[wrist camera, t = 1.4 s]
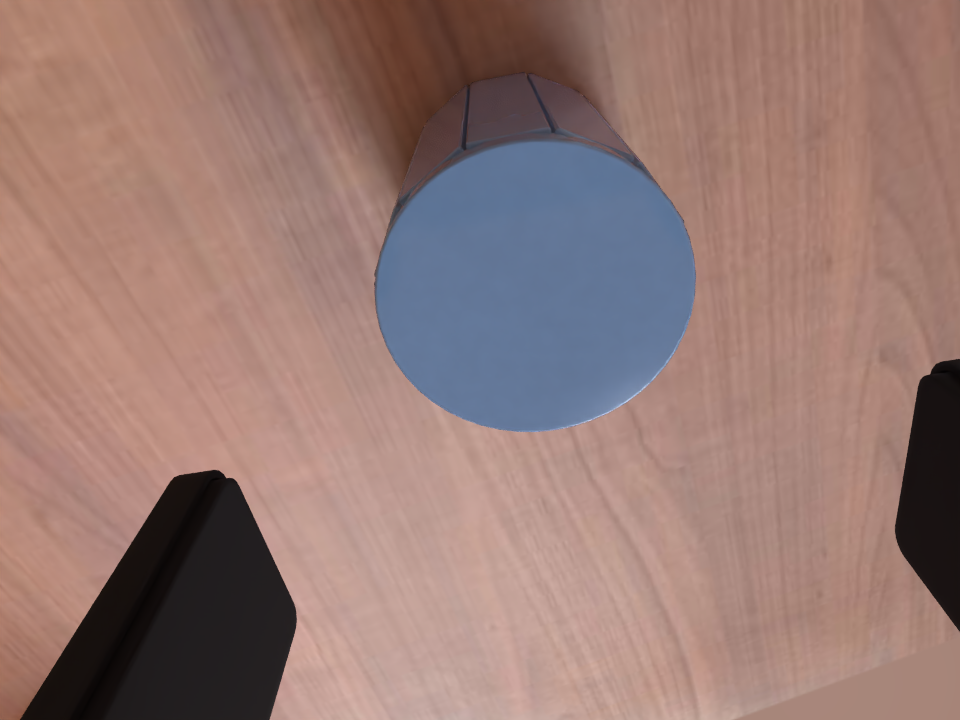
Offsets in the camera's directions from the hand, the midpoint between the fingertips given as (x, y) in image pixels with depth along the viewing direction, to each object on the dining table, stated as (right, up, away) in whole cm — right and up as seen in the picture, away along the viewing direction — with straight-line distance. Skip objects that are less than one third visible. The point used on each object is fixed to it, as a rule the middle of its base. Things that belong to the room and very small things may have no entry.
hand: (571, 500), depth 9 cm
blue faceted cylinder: (0, +8, +13) cm, 15 cm away
